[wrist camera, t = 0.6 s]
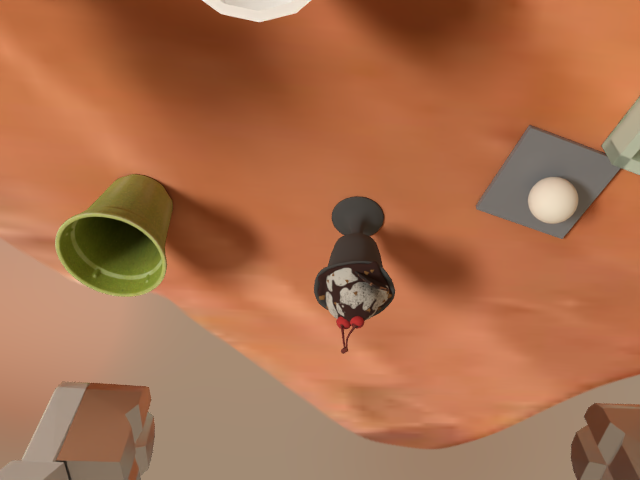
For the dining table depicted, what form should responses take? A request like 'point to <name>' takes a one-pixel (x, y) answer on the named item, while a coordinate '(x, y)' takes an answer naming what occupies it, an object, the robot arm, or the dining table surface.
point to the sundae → (355, 267)
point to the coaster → (542, 162)
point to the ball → (553, 200)
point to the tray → (626, 141)
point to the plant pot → (119, 238)
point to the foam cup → (257, 8)
